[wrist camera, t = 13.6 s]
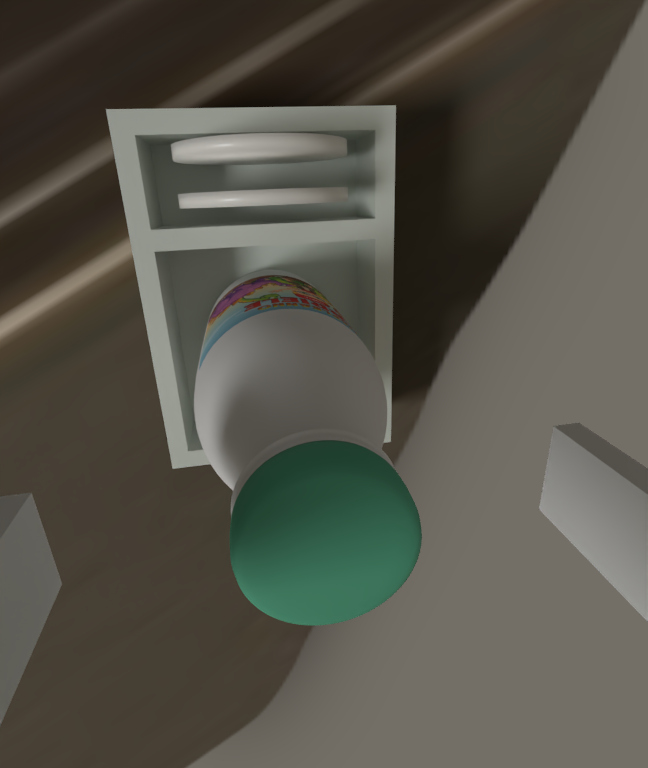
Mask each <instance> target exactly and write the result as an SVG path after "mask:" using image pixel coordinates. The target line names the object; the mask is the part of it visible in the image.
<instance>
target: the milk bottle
mask: <svg viewBox="0 0 648 768" xmlns="http://www.w3.org/2000/svg"><path fill="white" fill-rule="evenodd" d="M194 414H195V422H196V429H197V433H198V436H199V439H200V442H201V445H202V448H203V450H204V453H205V455H206V457H207V458H208V460H209V462H210V464H211V465H212V467H213V468H214V470H215V471H216V473H217V474H218V475H219V476H220V478H221V479H222V480H223V481H224V482H225V483H226V484H227V485H228V486H229V487H230V488H231V489H232V490H233V494H232V498H231V526H230V556H231V564H232V568H233V572H234V574H235V577H236V579H237V582H238V584H239V586H240V588H241V590H242V592H243V593H244V595H245V596H246V597H247V599H248V600H249V601H250V602H251V603H252V604H253V605H255V606H256V607H257V608H258V609H260V610H261V611H263V612H264V613H266V614H268V615H269V616H271V617H274V618H276V619H279V620H282V621H285V622H289V623H293V624H300V625H326V624H333V623H339V622H343V621H346V620H350V619H353V618H355V617H358V616H360V615H363V614H365V613H367V612H369V611H370V610H372V609H374V608H376V607H377V606H379V605H380V604H382V603H383V602H385V601H386V600H387V599H388V598H390V597H391V596H392V595H393V594H394V593H395V592H396V591H397V590H398V589H399V588H400V587H401V586H402V585H403V583H404V582H405V581H406V580H407V578H408V577H409V575H410V573H411V572H412V570H413V568H414V566H415V564H416V562H417V559H418V556H419V553H420V548H421V539H422V534H421V525H420V518H419V514H418V510H417V508H416V505H415V503H414V501H413V499H412V497H411V495H410V493H409V491H408V489H407V487H406V485H405V484H404V482H403V481H402V479H401V478H400V476H399V475H398V473H397V472H396V470H395V468H394V466H393V464H392V462H391V460H390V459H389V457H388V456H387V455H386V454H385V452H384V451H383V450H382V446H383V443H384V438H385V434H386V428H387V399H386V393H385V388H384V384H383V380H382V377H381V374H380V372H379V370H378V367H377V365H376V363H375V360H374V359H373V357H372V355H371V353H370V352H369V350H368V349H367V347H366V346H365V345H364V343H363V342H362V340H361V339H360V337H359V336H358V335H357V333H356V332H355V331H354V330H353V328H352V327H351V326H350V325H349V324H348V322H347V321H346V320H345V319H344V318H343V316H342V315H341V314H340V313H339V312H338V311H337V310H336V309H335V307H334V306H333V305H332V304H331V303H330V302H329V301H328V300H327V298H326V297H325V296H324V295H323V294H322V293H321V292H320V291H319V290H318V289H317V288H316V287H315V286H314V285H312V284H311V283H310V282H308V281H307V280H305V279H304V278H302V277H300V276H298V275H296V274H293V273H290V272H286V271H281V270H262V271H256V272H253V273H250V274H247V275H245V276H243V277H241V278H239V279H237V280H236V281H234V282H233V283H231V284H230V285H229V286H228V287H227V288H226V289H225V290H224V291H223V292H222V293H221V294H220V296H219V297H218V299H217V300H216V302H215V304H214V306H213V308H212V311H211V313H210V316H209V320H208V323H207V328H206V332H205V336H204V341H203V345H202V350H201V355H200V360H199V365H198V370H197V375H196V383H195V393H194Z"/></svg>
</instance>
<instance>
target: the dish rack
mask: <svg viewBox="0 0 648 768" xmlns="http://www.w3.org/2000/svg"><path fill="white" fill-rule="evenodd" d="M106 112H107V118H108V123H109V128H110V134H111V139H112V145H113V150H114V155H115V161H116V166H117V171H118V177H119V182H120V188H121V193H122V198H123V204H124V209H125V214H126V220H127V225H128V231H129V236H130V241H131V247H132V252H133V257H134V263H135V268H136V274H137V279H138V284H139V290H140V295H141V300H142V306H143V311H144V317H145V322H146V327H147V333H148V338H149V344H150V349H151V354H152V360H153V365H154V370H155V376H156V381H157V387H158V392H159V397H160V403H161V408H162V413H163V419H164V424H165V430H166V435H167V440H168V446H169V451H170V456H171V462H172V467H173V469H174V468H183V467H191V466H199V465H207V464H210V462H209V460H208V458H207V457H206V455H205V453H204V450H203V448H202V445H201V442H200V439H199V436H198V433H197V429H196V422H195V414H194V393H195V383H196V375H197V370H198V365H199V360H200V355H201V350H202V345H203V341H204V336H205V332H206V328H207V323H208V320H209V316H210V313H211V311H212V308H213V306H214V304H215V302H216V300H217V299H218V297H219V296H220V294H221V293H222V292H223V291H224V290H225V289H226V288H227V287H228V286H229V285H230V284H231V283H233V282H234V281H236V280H237V279H239V278H241V277H243V276H245V275H247V274H250V273H253V272H256V271H262V270H281V271H286V272H290V273H293V274H296V275H298V276H300V277H302V278H304V279H305V280H307V281H308V282H310V283H311V284H312V285H314V286H315V287H316V288H317V289H318V290H319V291H320V292H321V293H322V294H323V295H324V296H325V297H326V298H327V300H328V301H329V302H330V303H331V304H332V305H333V306H334V307H335V309H336V310H337V311H338V312H339V313H340V314H341V315H342V316H343V318H344V319H345V320H346V321H347V322H348V324H349V325H350V326H351V327H352V328H353V330H354V331H355V332H356V333H357V335H358V336H359V337H360V339H361V340H362V342H363V343H364V345H365V346H366V347H367V349H368V350H369V352H370V353H371V355H372V357H373V359H374V360H375V363H376V365H377V367H378V370H379V372H380V374H381V377H382V380H383V384H384V388H385V393H386V399H387V428H386V434H385V438H384V443H385V442H391V400H392V335H393V270H394V205H395V139H396V105H387V106H315V107H242V108H170V109H106Z"/></svg>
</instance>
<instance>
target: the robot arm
mask: <svg viewBox="0 0 648 768" xmlns="http://www.w3.org/2000/svg"><path fill="white" fill-rule="evenodd" d="M539 510H540V511H541V512H542V513H543V514H544V515H545V516H546V517H547V518H548V519H549V520H550V521H551V522H552V523H553V524H554V525H555V526H556V527H557V528H558V529H559V530H560V531H561V532H562V533H563V534H564V535H565V536H566V538H567V539H568V540H569V541H570V542H571V543H572V544H573V545H574V546H575V547H576V548H577V549H578V550H579V551H580V552H581V553H582V554H583V555H584V556H585V557H586V558H587V559H588V560H589V561H590V562H591V563H592V564H593V566H595V568H596V569H597V570H598V571H599V572H601V574H602V575H603V576H604V577H605V578H606V579H607V580H608V581H609V582H610V583H611V584H612V585H613V586H614V587H615V588H616V589H617V590H618V591H619V592H620V593H621V595H623V597H624V598H625V599H626V600H627V601H628V602H629V603H630V604H631V605H632V606H633V607H634V608H635V609H636V610H637V611H638V612H639V613H640V614H641V615H642V616H643V617H644V618H645V619H646V620H647V621H648V468H646V467H644V466H643V465H642V464H640V463H639V462H637V461H636V460H634V459H632V458H631V457H630V456H628V455H627V454H625V453H623V452H622V451H621V450H619V449H618V448H616V447H614V446H613V445H611V444H610V443H609V442H607V441H606V440H604V439H602V438H601V437H599V436H598V435H597V434H595V433H593V432H592V431H591V430H589V429H588V428H586V427H584V426H583V425H582V424H580V423H574V424H566V425H559V426H554V427H553V432H552V438H551V443H550V450H549V455H548V461H547V467H546V472H545V478H544V484H543V490H542V496H541V502H540V508H539ZM61 585H62V583H61V580H60V577H59V574H58V571H57V568H56V565H55V562H54V559H53V556H52V553H51V550H50V547H49V544H48V541H47V538H46V535H45V532H44V529H43V526H42V523H41V520H40V517H39V514H38V511H37V508H36V505H35V502H34V499H33V496H32V493H25V494H17V495H9V496H1V497H0V725H1V723H2V720H3V718H4V716H5V713H6V711H7V709H8V707H9V704H10V702H11V700H12V697H13V695H14V693H15V690H16V688H17V686H18V684H19V681H20V679H21V677H22V674H23V672H24V670H25V668H26V665H27V663H28V661H29V658H30V656H31V654H32V651H33V649H34V647H35V645H36V642H37V640H38V638H39V635H40V633H41V631H42V628H43V626H44V624H45V622H46V619H47V617H48V615H49V612H50V610H51V608H52V606H53V603H54V601H55V599H56V596H57V594H58V592H59V589H60V587H61Z"/></svg>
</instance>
